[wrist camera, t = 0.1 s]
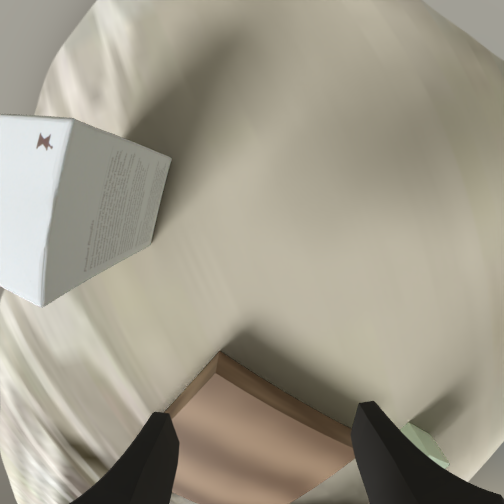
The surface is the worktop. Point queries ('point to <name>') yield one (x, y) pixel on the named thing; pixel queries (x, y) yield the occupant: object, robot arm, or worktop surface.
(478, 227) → the worktop surface
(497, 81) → the worktop surface
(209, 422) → the walnut base
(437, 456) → the sage block
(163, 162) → the skincare box
